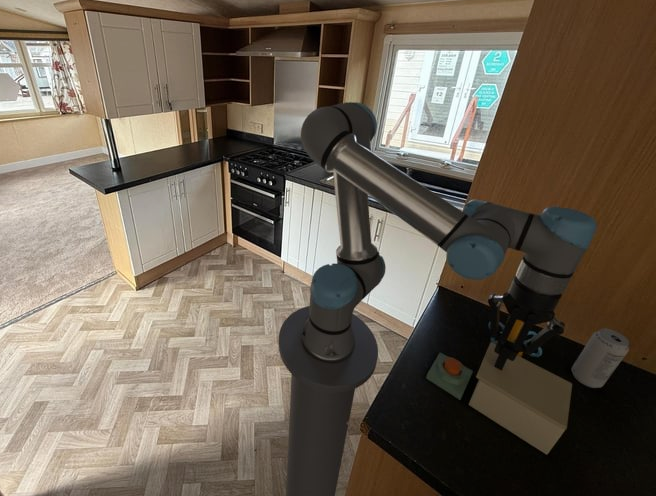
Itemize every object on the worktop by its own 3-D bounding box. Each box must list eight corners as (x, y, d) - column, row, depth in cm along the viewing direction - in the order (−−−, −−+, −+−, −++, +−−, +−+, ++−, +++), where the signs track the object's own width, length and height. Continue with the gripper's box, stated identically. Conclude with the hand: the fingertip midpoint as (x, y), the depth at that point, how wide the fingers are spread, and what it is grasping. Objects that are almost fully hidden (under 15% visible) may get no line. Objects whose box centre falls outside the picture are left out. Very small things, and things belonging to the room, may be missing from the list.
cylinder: (496, 373, 80) (517, 331, 74) (472, 339, 90) (488, 300, 83) (542, 371, 81) (567, 329, 74) (513, 338, 90) (532, 299, 83)
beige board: (475, 377, 70) (476, 375, 69) (489, 344, 78) (490, 341, 77) (565, 430, 60) (566, 427, 60) (570, 385, 68) (572, 383, 68)
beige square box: (468, 404, 73) (479, 380, 69) (482, 370, 81) (493, 346, 77) (547, 455, 64) (565, 430, 60) (554, 410, 72) (570, 386, 68)
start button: (441, 368, 78) (443, 364, 77) (446, 359, 80) (448, 355, 80) (457, 378, 76) (459, 373, 75) (461, 368, 78) (463, 364, 77)
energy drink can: (586, 368, 82) (614, 326, 75) (608, 390, 76) (640, 347, 70) (563, 367, 82) (589, 326, 75) (584, 390, 76) (613, 347, 70)
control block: (425, 378, 79) (428, 369, 77) (438, 356, 85) (441, 347, 83) (460, 400, 74) (464, 391, 72) (471, 375, 80) (475, 366, 78)
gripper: (584, 290, 59) (537, 372, 70) (503, 261, 67) (472, 338, 78) (581, 311, 54) (531, 395, 65) (494, 277, 63) (462, 357, 73)
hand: (499, 364), depth 71 cm, fingers closed
